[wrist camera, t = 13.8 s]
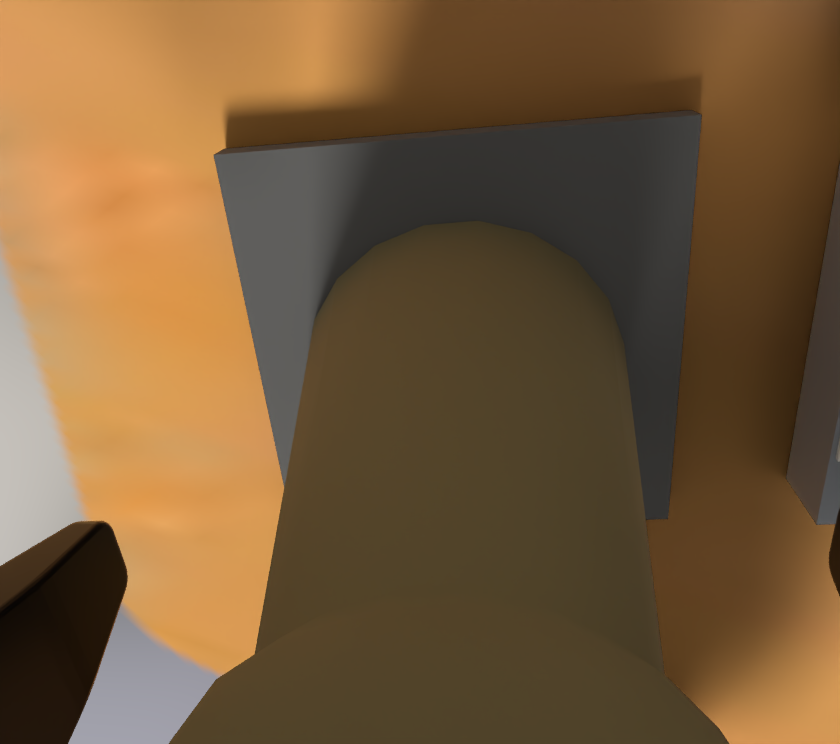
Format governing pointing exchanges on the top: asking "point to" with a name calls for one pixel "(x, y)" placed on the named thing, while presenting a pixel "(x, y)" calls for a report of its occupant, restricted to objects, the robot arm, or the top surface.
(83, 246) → the top surface
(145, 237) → the top surface
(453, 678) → the cork
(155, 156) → the top surface
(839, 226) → the grey slide rail tray
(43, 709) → the robot arm
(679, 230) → the rubber pad
